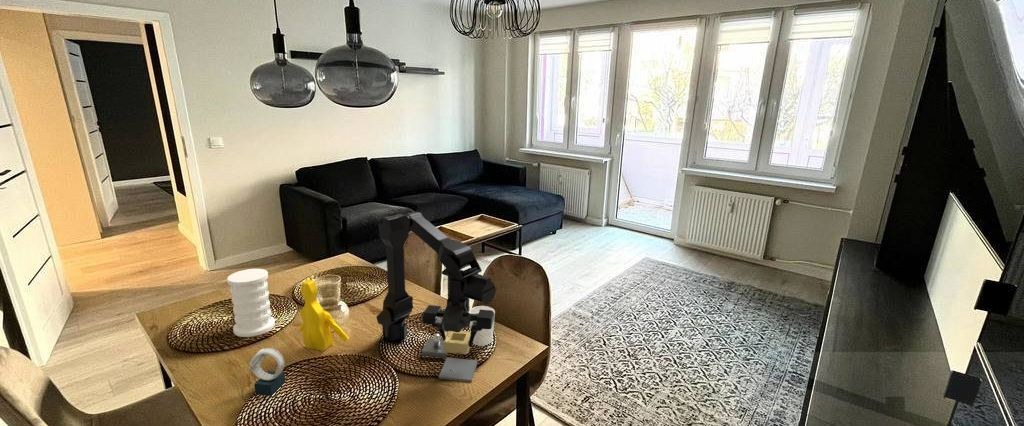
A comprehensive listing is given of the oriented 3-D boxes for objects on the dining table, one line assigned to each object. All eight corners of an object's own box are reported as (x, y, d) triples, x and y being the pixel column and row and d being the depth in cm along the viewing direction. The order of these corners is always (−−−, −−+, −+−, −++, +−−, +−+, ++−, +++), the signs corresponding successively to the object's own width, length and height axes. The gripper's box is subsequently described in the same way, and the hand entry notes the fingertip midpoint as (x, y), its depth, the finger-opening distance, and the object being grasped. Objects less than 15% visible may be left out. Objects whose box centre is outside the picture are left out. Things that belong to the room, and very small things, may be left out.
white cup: (490, 349, 131) (491, 319, 129) (465, 345, 133) (465, 316, 130) (496, 336, 139) (497, 307, 136) (473, 332, 140) (473, 304, 138)
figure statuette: (353, 345, 131) (348, 277, 126) (336, 359, 124) (330, 288, 118) (305, 334, 136) (298, 269, 131) (285, 347, 129) (277, 279, 123)
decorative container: (224, 331, 136) (216, 278, 132) (258, 315, 147) (251, 265, 142) (251, 340, 132) (243, 285, 128) (283, 323, 143) (277, 272, 138)
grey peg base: (421, 357, 126) (421, 340, 125) (428, 344, 133) (428, 327, 132) (445, 359, 126) (445, 342, 124) (451, 346, 132) (451, 329, 131)
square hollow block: (449, 339, 122) (449, 329, 122) (472, 341, 122) (472, 331, 121) (443, 352, 116) (443, 342, 115) (467, 354, 116) (467, 344, 115)
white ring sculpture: (262, 380, 114) (258, 342, 111) (291, 383, 113) (287, 345, 111) (248, 394, 109) (242, 355, 106) (278, 397, 108) (273, 358, 105)
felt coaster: (438, 378, 117) (438, 376, 117) (447, 359, 126) (447, 357, 125) (471, 381, 116) (471, 379, 116) (477, 362, 125) (477, 360, 125)
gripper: (414, 303, 108) (415, 358, 112) (488, 309, 106) (487, 365, 110) (427, 285, 119) (428, 336, 123) (495, 290, 117) (493, 342, 121)
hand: (458, 345), depth 119 cm, fingers closed on square hollow block, 6 cm apart
